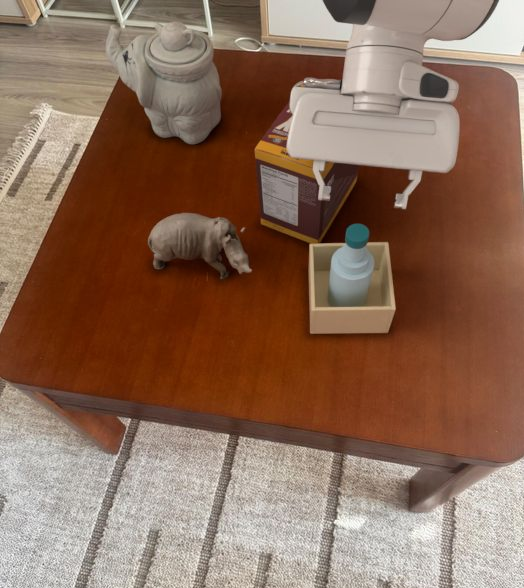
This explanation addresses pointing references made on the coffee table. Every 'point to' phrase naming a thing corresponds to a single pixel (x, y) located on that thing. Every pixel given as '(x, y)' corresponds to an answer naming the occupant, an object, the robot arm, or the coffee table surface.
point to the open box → (350, 319)
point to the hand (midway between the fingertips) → (361, 204)
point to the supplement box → (297, 186)
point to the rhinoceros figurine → (197, 241)
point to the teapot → (171, 79)
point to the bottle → (351, 270)
